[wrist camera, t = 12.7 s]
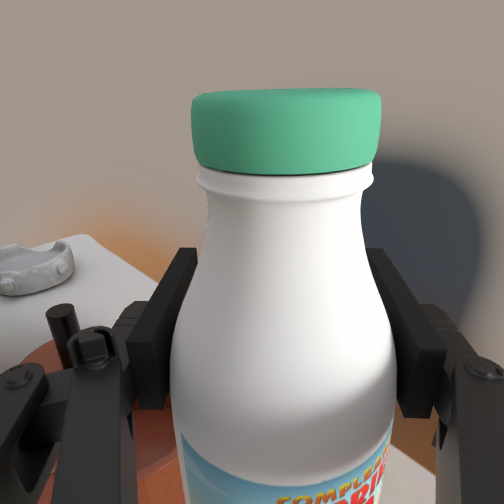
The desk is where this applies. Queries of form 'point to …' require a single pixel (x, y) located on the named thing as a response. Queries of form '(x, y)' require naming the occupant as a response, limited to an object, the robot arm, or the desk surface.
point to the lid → (56, 339)
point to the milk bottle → (283, 306)
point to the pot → (149, 458)
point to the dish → (33, 268)
